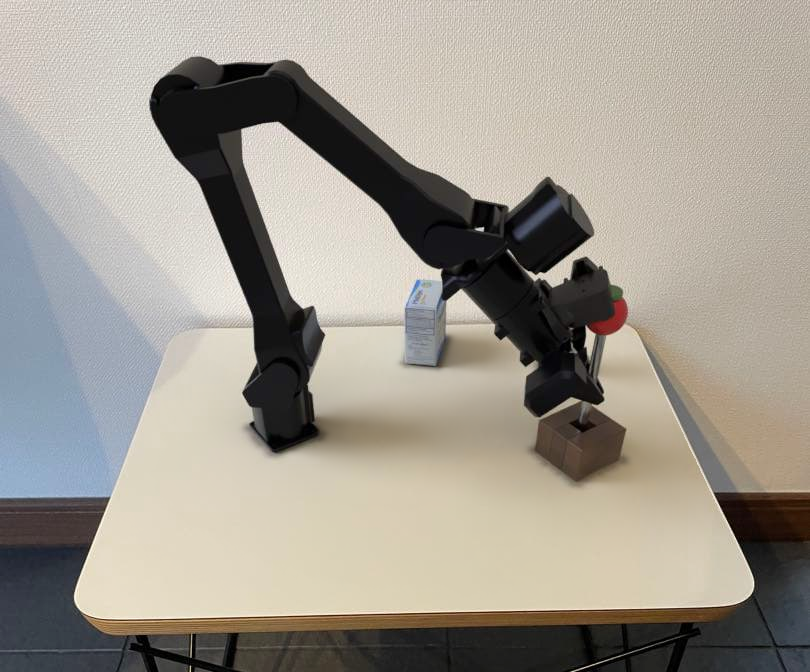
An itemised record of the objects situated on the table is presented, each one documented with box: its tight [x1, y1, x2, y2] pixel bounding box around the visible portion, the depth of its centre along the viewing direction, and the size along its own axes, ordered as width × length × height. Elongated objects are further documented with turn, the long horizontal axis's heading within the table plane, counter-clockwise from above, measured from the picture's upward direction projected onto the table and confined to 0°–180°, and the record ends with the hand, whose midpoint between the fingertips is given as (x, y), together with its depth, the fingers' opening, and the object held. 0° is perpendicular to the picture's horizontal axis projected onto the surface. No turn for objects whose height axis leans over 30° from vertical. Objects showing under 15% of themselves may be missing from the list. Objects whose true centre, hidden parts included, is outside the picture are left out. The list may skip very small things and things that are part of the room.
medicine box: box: [403, 279, 448, 367], centre depth 104 cm, size 8×4×9 cm, turn 168°
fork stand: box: [534, 400, 627, 483], centre depth 89 cm, size 7×7×4 cm
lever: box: [577, 284, 629, 433], centre depth 82 cm, size 4×4×19 cm
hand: (600, 398), depth 84 cm, fingers closed on lever
